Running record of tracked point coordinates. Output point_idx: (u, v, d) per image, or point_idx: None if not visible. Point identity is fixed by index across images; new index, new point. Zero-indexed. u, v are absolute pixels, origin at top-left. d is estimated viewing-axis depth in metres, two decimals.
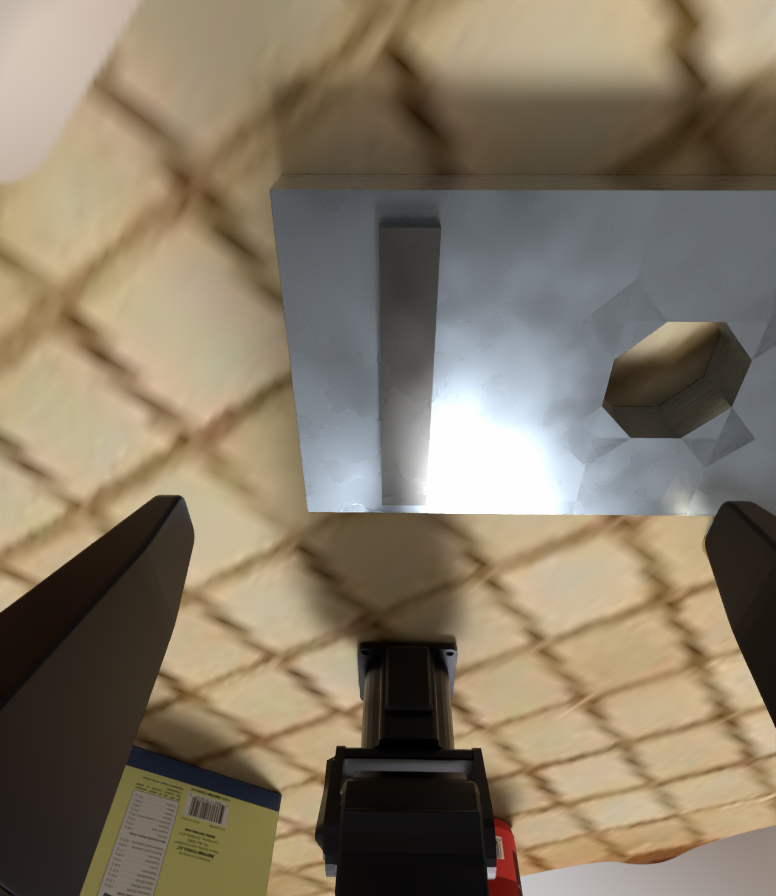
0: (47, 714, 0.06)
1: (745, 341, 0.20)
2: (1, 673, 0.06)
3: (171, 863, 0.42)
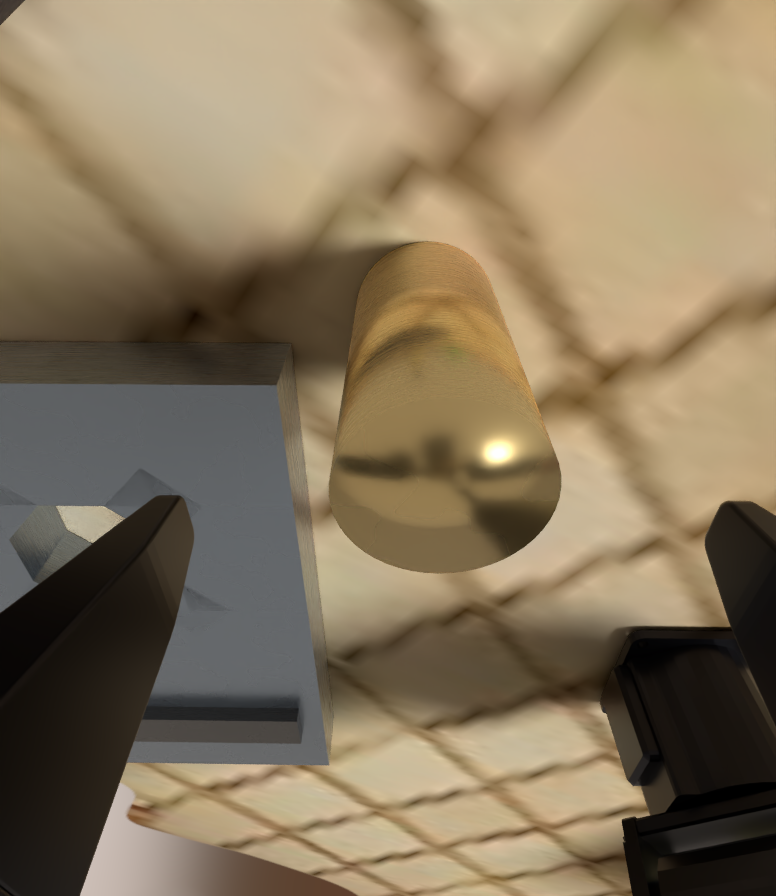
0: (47, 714, 0.06)
1: (20, 517, 0.18)
2: (1, 673, 0.06)
3: None
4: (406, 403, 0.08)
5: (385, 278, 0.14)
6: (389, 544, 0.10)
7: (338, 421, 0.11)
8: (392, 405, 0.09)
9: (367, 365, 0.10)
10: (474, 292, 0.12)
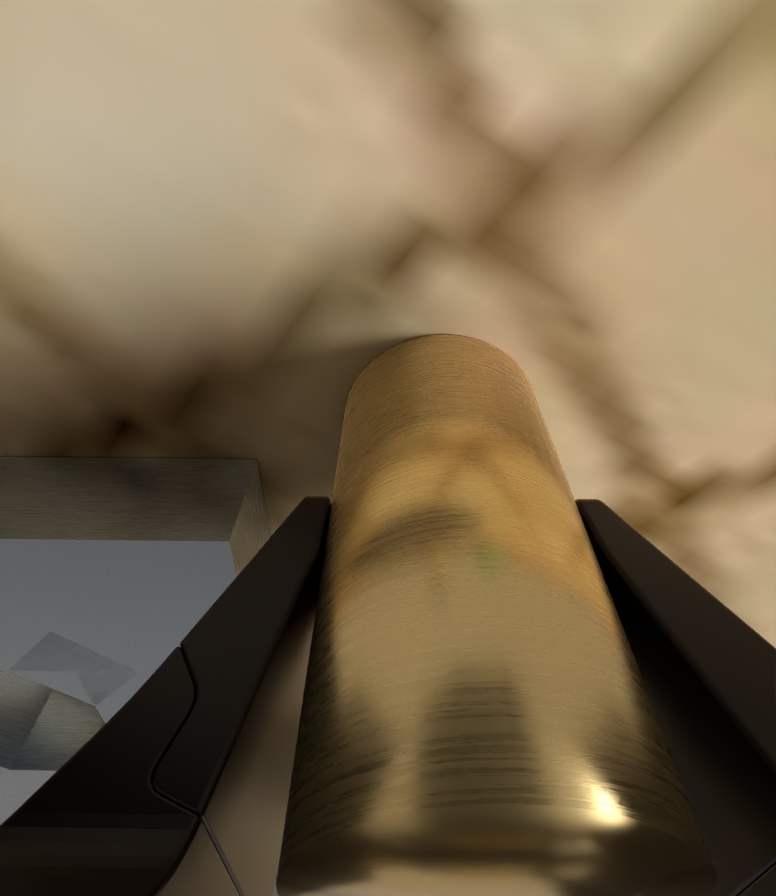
0: (267, 717, 0.06)
1: None
2: (234, 676, 0.06)
3: None
4: (424, 812, 0.04)
5: (383, 401, 0.09)
6: None
7: (304, 689, 0.07)
8: (397, 799, 0.04)
9: (351, 618, 0.06)
10: (521, 439, 0.08)
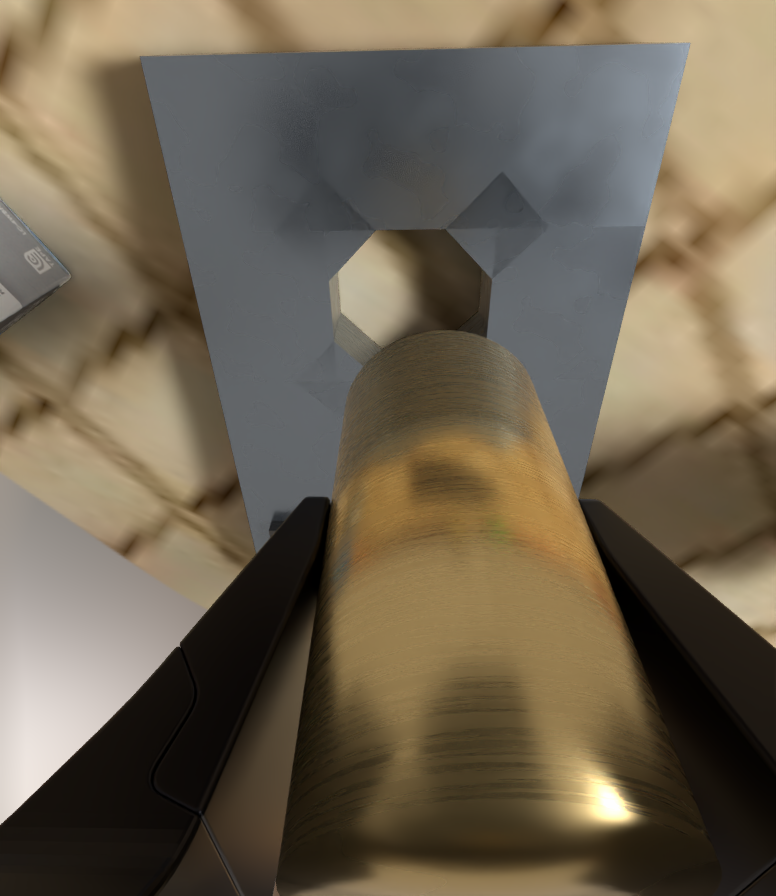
0: (267, 717, 0.06)
1: (351, 248, 0.17)
2: (234, 676, 0.06)
3: None
4: (427, 807, 0.04)
5: (384, 396, 0.09)
6: None
7: (304, 685, 0.06)
8: (398, 794, 0.04)
9: (353, 613, 0.06)
10: (522, 434, 0.08)
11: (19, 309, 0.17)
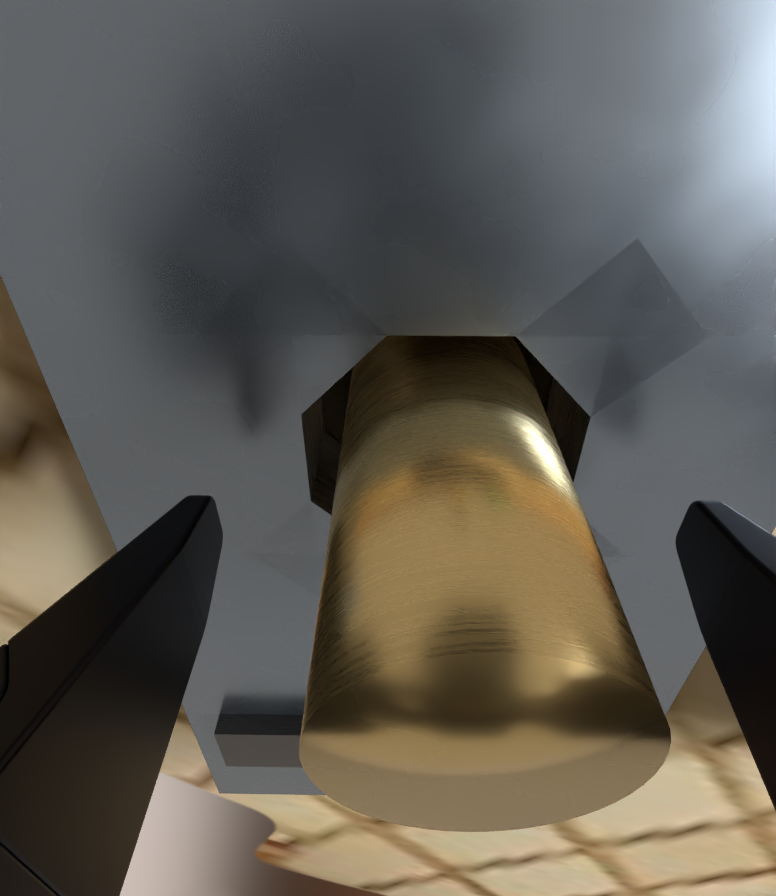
0: (92, 715, 0.06)
1: (341, 363, 0.09)
2: (48, 674, 0.06)
3: None
4: (426, 661, 0.05)
5: (387, 363, 0.10)
6: (394, 805, 0.07)
7: (319, 602, 0.07)
8: (401, 655, 0.05)
9: (362, 534, 0.07)
10: (511, 393, 0.09)
11: None
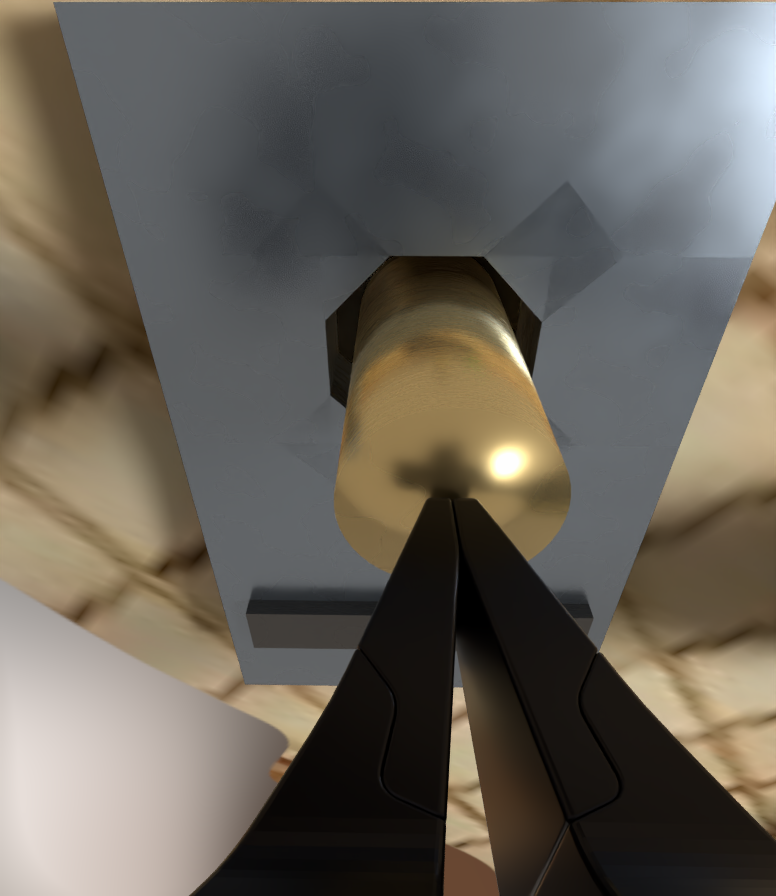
0: None
1: (356, 278, 0.13)
2: (427, 679, 0.06)
3: None
4: (414, 414, 0.08)
5: (389, 283, 0.13)
6: (395, 555, 0.10)
7: (343, 429, 0.11)
8: (399, 414, 0.08)
9: (373, 373, 0.10)
10: (480, 298, 0.12)
11: None
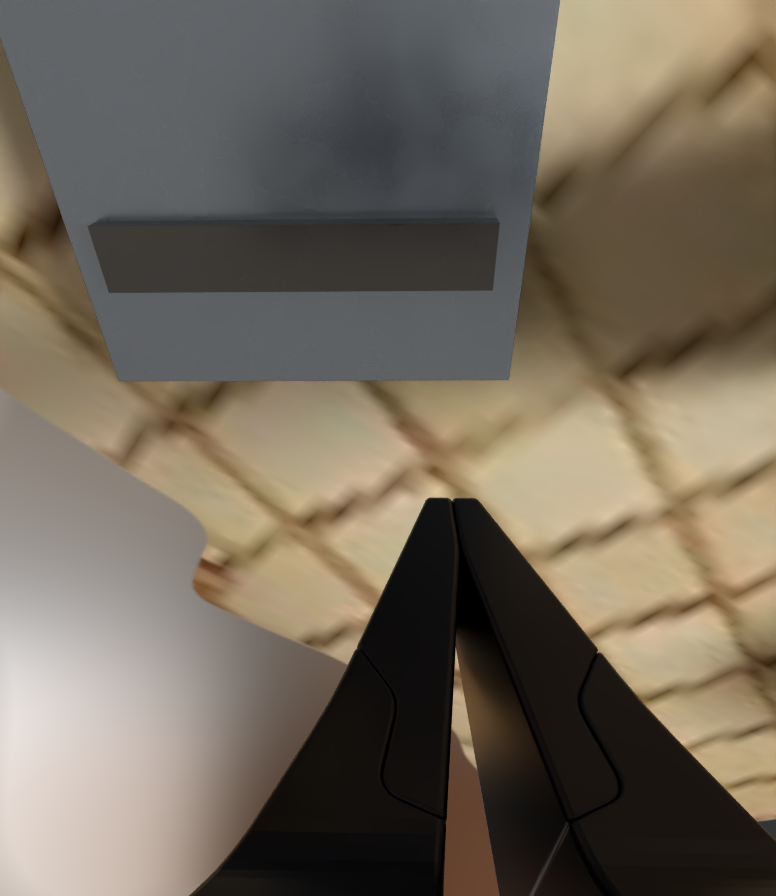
0: None
1: None
2: (427, 679, 0.06)
3: None
4: None
5: None
6: None
7: None
8: None
9: None
10: None
11: None
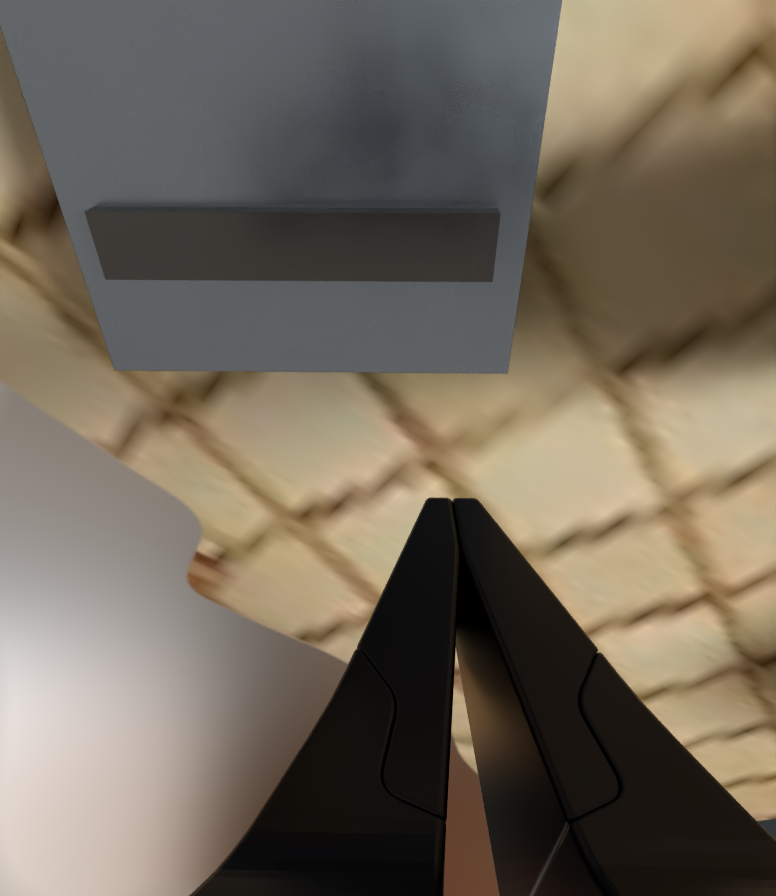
0: None
1: None
2: (427, 679, 0.06)
3: None
4: None
5: None
6: None
7: None
8: None
9: None
10: None
11: None
